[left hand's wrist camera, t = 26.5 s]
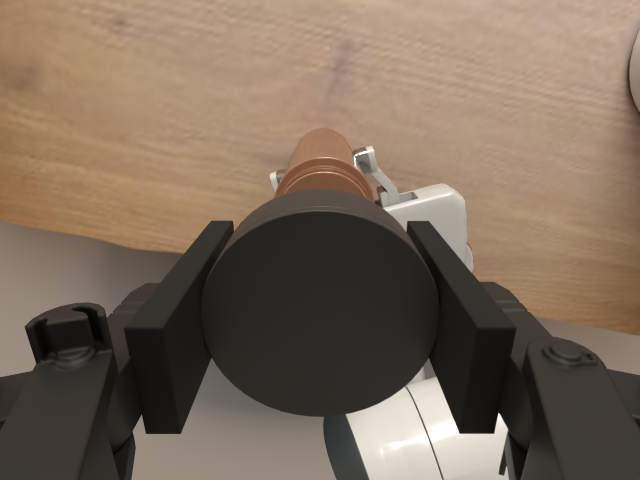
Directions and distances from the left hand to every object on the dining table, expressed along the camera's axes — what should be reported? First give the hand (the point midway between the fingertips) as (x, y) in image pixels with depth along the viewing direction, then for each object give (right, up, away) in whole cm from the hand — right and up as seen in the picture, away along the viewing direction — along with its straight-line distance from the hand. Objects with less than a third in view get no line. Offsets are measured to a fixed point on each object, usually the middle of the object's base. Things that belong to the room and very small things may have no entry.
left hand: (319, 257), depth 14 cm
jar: (0, +8, +23) cm, 25 cm away
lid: (0, -1, -4) cm, 4 cm away
